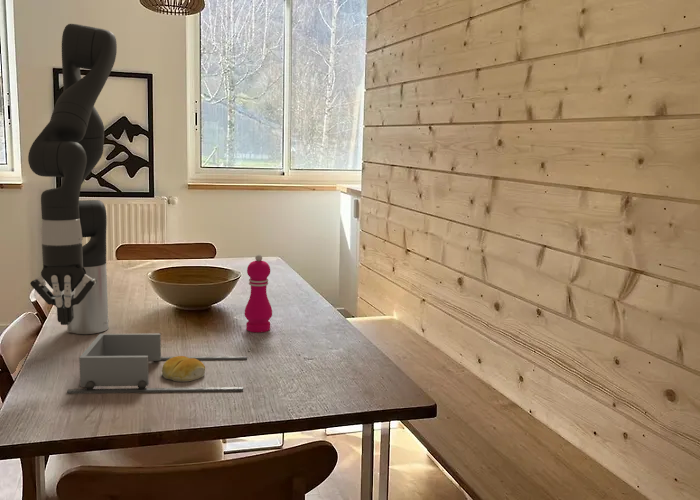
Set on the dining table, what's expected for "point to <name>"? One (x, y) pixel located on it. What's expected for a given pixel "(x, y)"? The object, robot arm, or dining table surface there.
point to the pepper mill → (258, 297)
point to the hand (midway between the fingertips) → (66, 323)
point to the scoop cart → (119, 360)
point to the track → (142, 390)
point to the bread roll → (183, 369)
